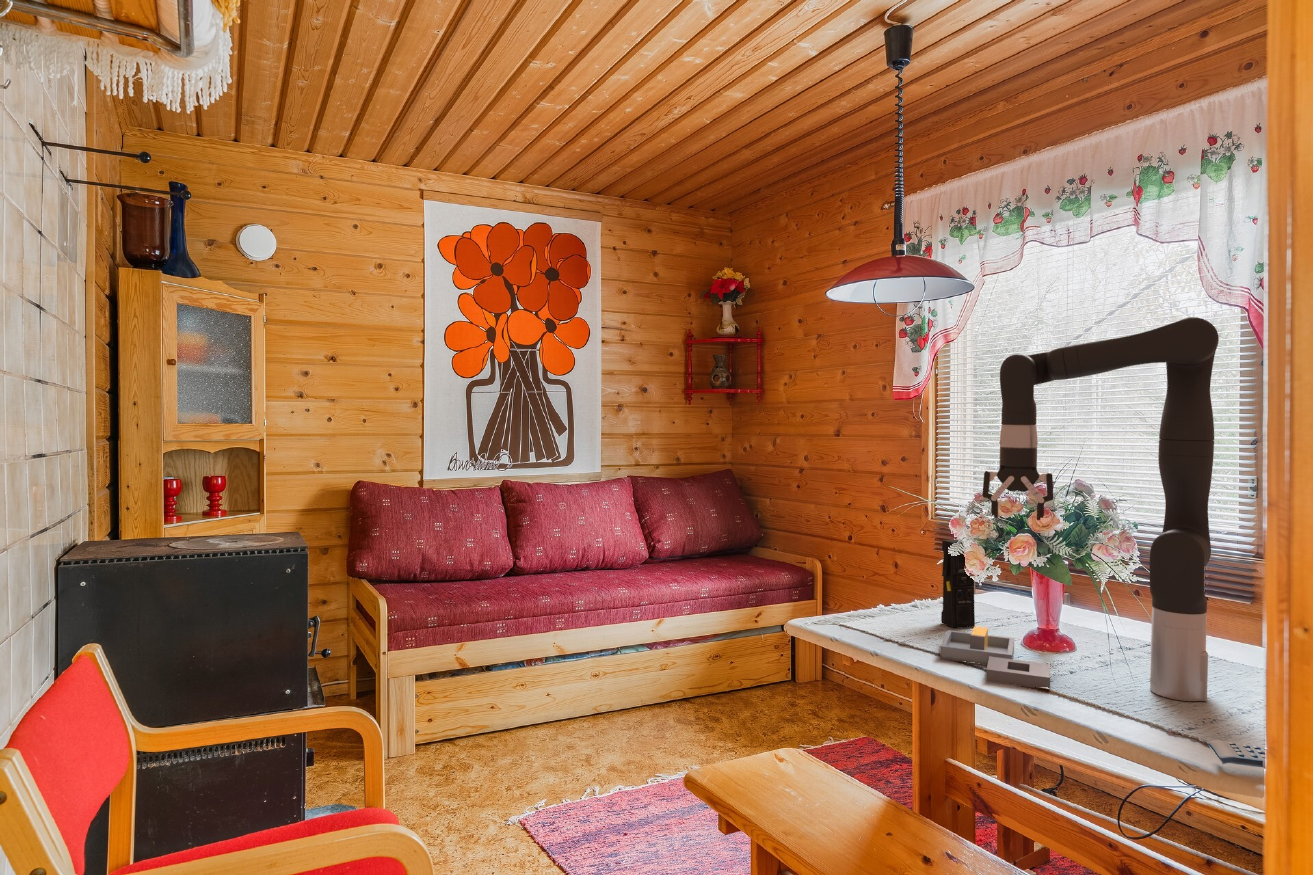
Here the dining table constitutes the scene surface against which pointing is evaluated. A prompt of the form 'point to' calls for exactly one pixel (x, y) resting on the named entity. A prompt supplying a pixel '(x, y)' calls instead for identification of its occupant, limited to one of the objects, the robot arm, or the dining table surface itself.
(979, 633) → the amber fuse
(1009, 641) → the grey tray
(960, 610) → the portable radio
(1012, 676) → the socket plate
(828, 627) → the dining table surface
